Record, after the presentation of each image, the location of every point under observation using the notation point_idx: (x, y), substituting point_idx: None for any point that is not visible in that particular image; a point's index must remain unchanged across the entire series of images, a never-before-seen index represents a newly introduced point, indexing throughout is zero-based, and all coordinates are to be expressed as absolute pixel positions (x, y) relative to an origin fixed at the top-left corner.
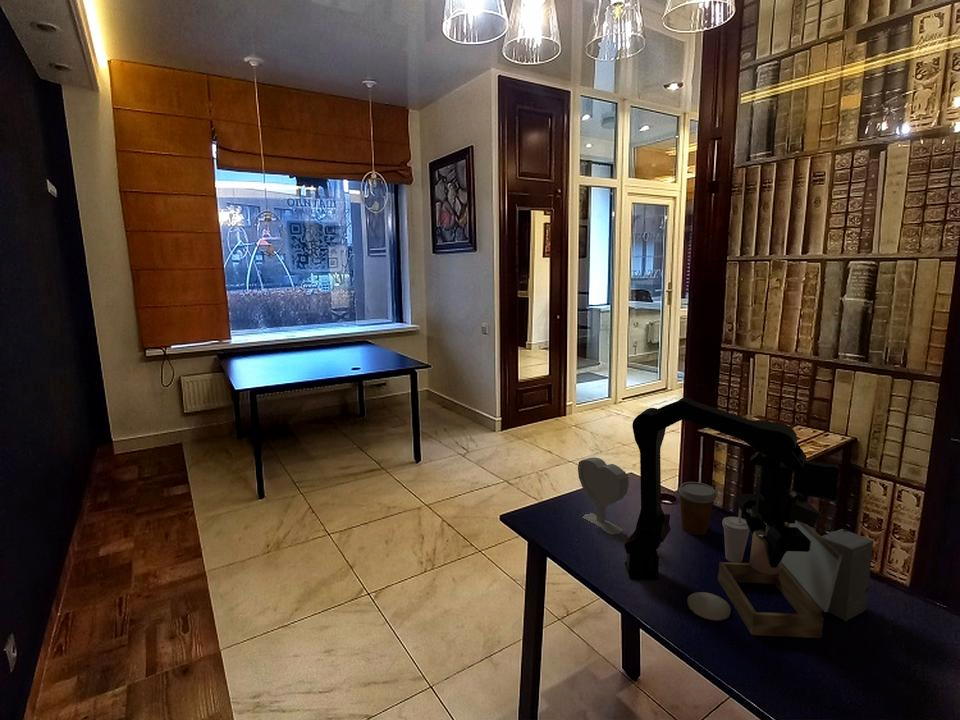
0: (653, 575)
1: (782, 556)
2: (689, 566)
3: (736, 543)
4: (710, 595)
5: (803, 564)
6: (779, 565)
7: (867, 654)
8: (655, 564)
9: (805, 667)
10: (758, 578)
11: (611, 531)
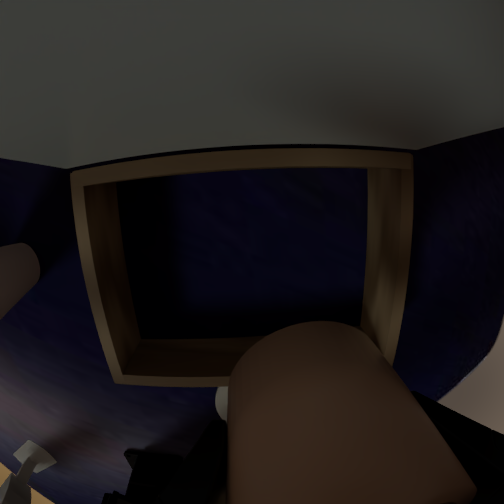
0: (172, 462)
1: (484, 430)
2: (97, 388)
3: (4, 300)
4: (226, 392)
5: (215, 117)
6: (394, 370)
7: None
8: (163, 478)
9: (456, 251)
10: (115, 241)
11: (48, 458)
